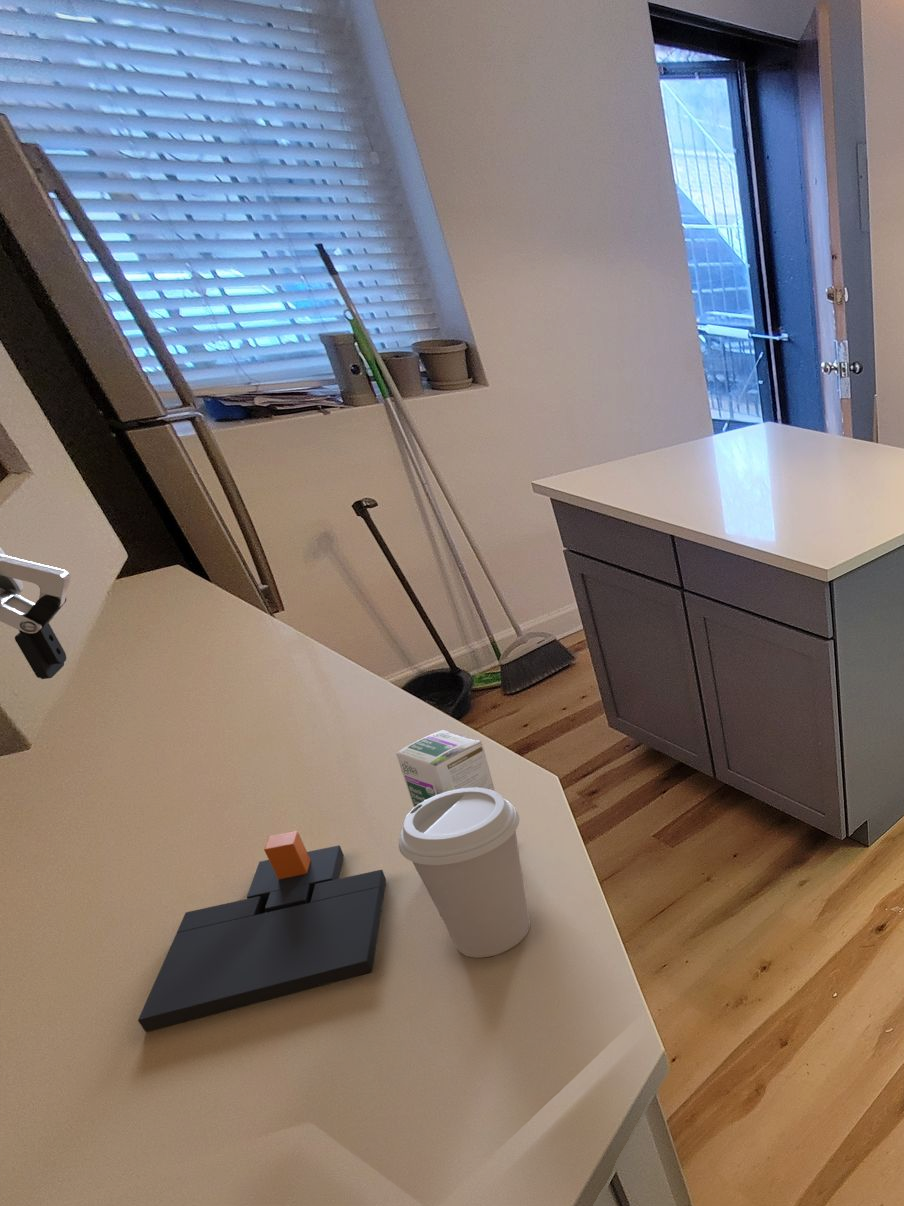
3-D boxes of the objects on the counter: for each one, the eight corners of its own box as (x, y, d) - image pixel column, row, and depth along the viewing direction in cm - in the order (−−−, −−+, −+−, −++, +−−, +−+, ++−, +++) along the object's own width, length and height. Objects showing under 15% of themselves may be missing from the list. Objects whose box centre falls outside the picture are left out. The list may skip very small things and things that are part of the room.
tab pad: (245, 925, 77) (223, 883, 75) (264, 872, 84) (244, 831, 81) (332, 905, 80) (314, 863, 78) (344, 855, 87) (327, 815, 84)
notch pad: (145, 1032, 66) (137, 1020, 66) (191, 923, 77) (185, 912, 76) (372, 972, 73) (367, 960, 73) (386, 879, 84) (382, 869, 83)
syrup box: (429, 864, 86) (390, 752, 79) (475, 833, 91) (442, 726, 84) (469, 878, 85) (433, 766, 78) (513, 846, 90) (483, 738, 83)
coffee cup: (503, 888, 84) (468, 772, 76) (568, 920, 80) (537, 801, 73) (415, 947, 76) (367, 823, 69) (482, 984, 73) (439, 859, 65)
